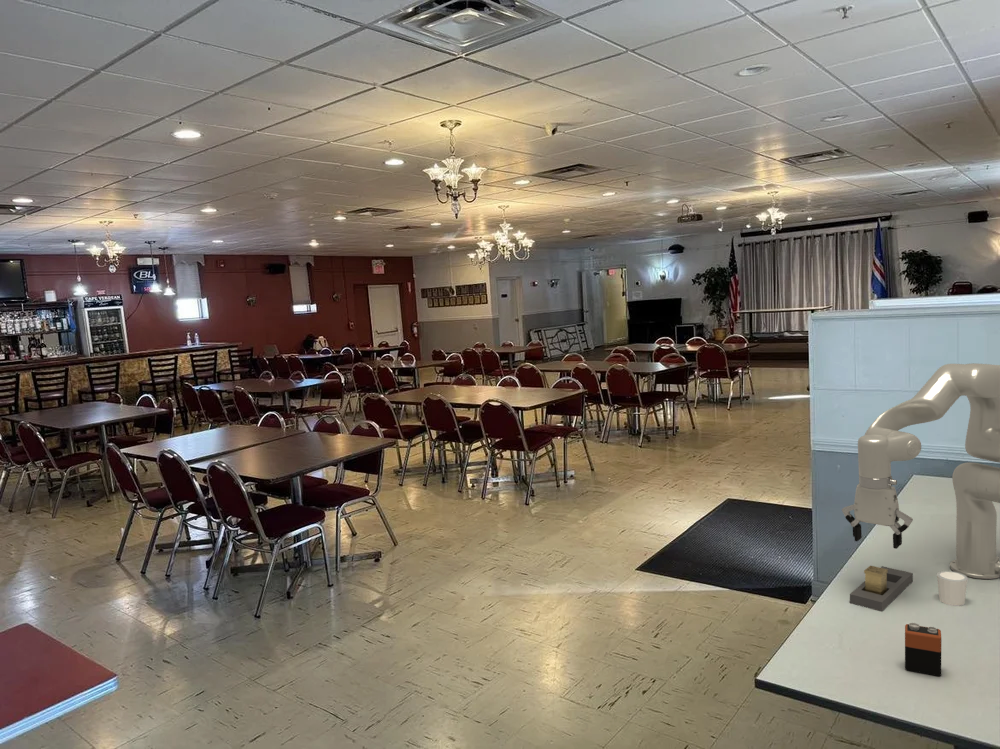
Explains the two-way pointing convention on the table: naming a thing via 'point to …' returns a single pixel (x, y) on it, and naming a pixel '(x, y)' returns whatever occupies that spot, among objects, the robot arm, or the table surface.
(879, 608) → the rail
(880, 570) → the tan upright block
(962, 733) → the table surface
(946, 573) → the white short cylinder
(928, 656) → the battery
